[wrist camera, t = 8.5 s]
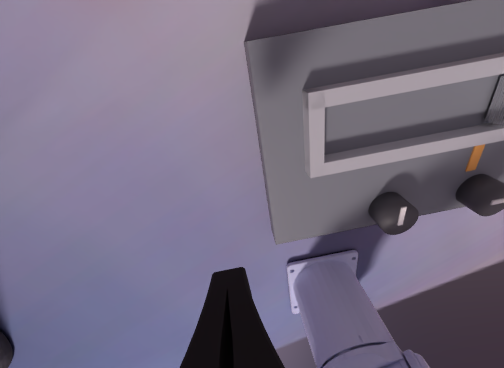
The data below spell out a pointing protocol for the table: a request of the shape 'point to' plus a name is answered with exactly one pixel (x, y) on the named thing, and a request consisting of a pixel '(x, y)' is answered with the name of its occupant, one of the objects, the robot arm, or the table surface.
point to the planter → (5, 351)
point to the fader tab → (497, 105)
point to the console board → (380, 119)
